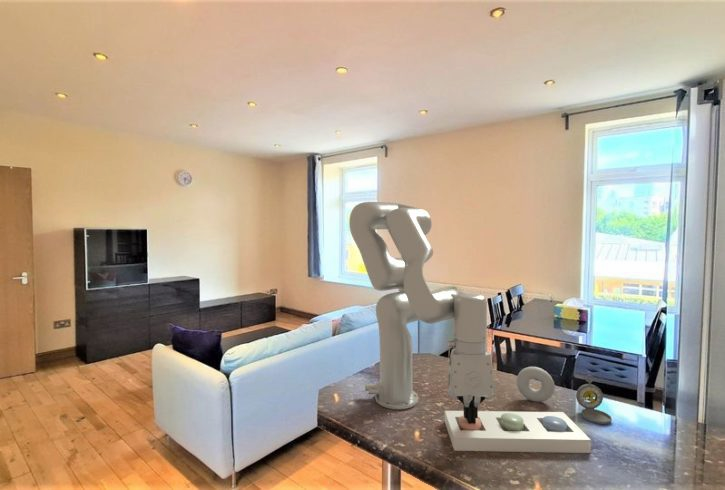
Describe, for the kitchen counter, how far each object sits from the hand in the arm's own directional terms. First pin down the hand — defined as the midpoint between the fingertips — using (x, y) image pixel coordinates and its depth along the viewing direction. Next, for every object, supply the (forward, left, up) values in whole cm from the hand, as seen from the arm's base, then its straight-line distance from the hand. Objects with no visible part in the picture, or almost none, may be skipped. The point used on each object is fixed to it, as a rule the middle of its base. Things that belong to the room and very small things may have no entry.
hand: (470, 420), depth 87 cm
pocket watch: (+35, +10, -4) cm, 37 cm away
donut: (+23, +18, -4) cm, 29 cm away
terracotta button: (0, 0, -2) cm, 2 cm away
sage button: (+10, 0, -1) cm, 10 cm away
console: (+10, 0, -4) cm, 11 cm away
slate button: (+20, 0, -2) cm, 20 cm away
